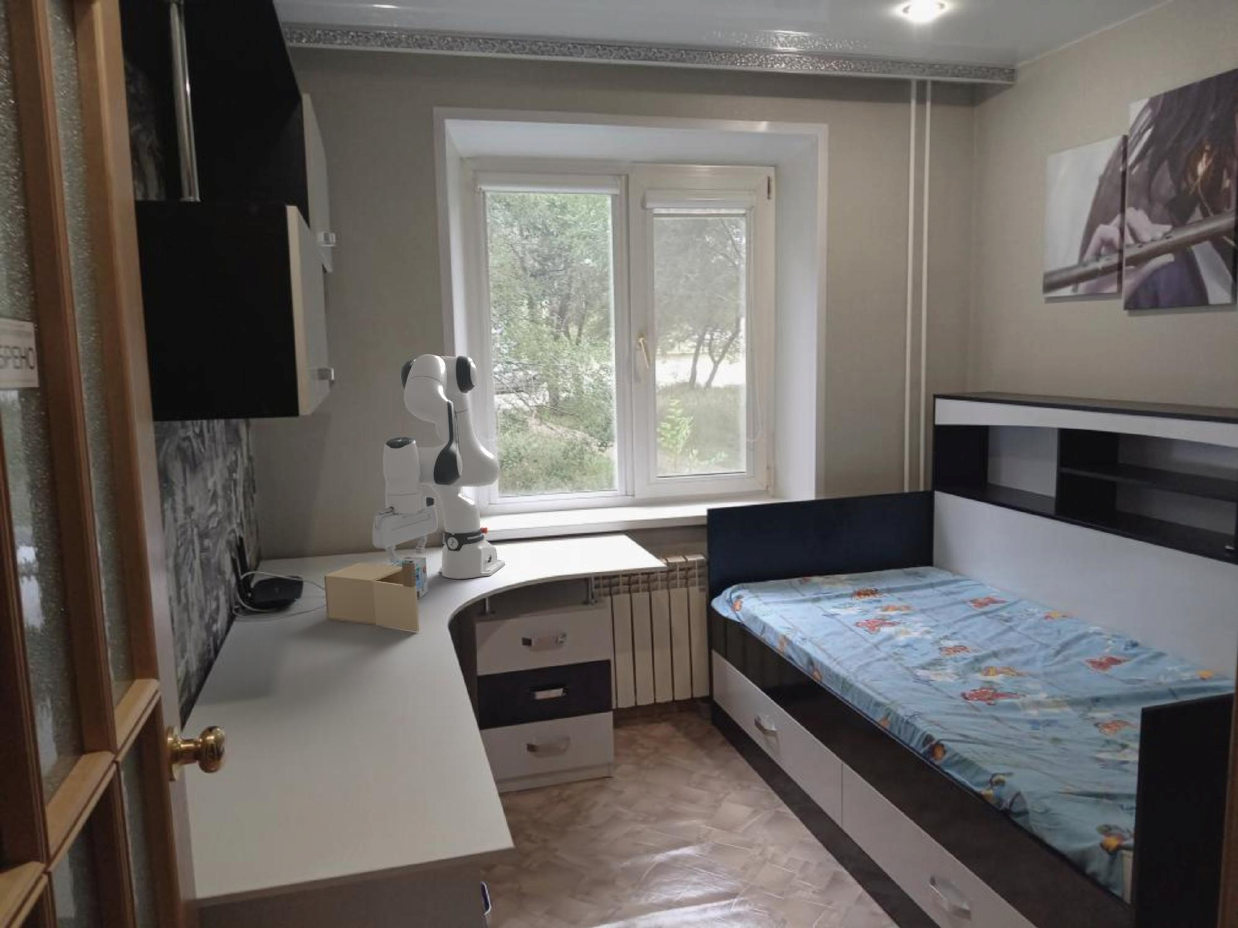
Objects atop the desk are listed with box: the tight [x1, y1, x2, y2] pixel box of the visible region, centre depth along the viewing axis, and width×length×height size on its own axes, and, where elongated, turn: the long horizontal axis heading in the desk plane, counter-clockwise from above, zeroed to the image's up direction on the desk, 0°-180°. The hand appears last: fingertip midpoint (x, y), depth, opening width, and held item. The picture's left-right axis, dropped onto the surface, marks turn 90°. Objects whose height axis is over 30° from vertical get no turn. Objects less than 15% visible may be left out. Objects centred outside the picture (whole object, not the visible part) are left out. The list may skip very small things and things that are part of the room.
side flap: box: [373, 562, 420, 633], centre depth 217 cm, size 14×1×18 cm, turn 62°
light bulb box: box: [389, 556, 429, 600], centre depth 245 cm, size 11×7×11 cm, turn 168°
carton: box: [323, 562, 403, 626], centre depth 230 cm, size 14×16×12 cm
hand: (407, 557), depth 213 cm, fingers open, 8 cm apart
